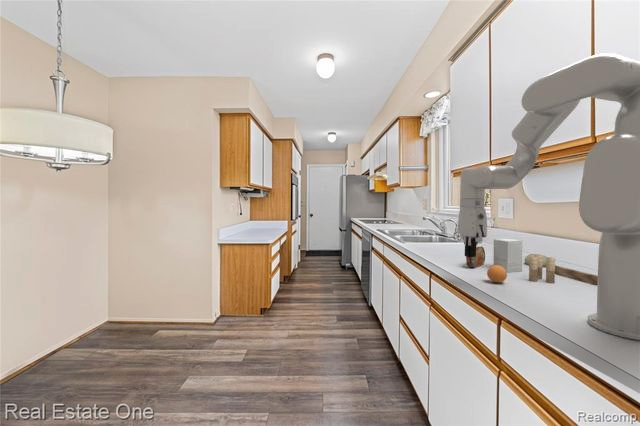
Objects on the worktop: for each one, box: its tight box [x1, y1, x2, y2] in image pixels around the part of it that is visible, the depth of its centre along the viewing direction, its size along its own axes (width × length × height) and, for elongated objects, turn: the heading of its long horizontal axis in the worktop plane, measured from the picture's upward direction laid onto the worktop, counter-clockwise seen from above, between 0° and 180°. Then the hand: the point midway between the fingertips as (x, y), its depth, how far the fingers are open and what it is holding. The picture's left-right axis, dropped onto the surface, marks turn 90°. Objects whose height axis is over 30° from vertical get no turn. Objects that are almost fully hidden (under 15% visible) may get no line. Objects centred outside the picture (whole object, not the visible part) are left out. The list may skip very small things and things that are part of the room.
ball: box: [486, 264, 508, 284], centre depth 103 cm, size 6×6×6 cm
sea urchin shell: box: [524, 253, 547, 268], centre depth 129 cm, size 9×8×8 cm
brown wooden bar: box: [555, 264, 598, 286], centre depth 106 cm, size 20×2×3 cm, turn 6°
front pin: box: [528, 257, 538, 282], centre depth 104 cm, size 2×2×8 cm
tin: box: [465, 246, 486, 269], centre depth 128 cm, size 15×3×8 cm, turn 131°
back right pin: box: [545, 256, 556, 284], centre depth 102 cm, size 2×2×8 cm
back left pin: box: [534, 254, 543, 280], centre depth 107 cm, size 2×2×8 cm
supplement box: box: [493, 238, 523, 273], centre depth 120 cm, size 7×7×13 cm
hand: (470, 256), depth 102 cm, fingers closed
